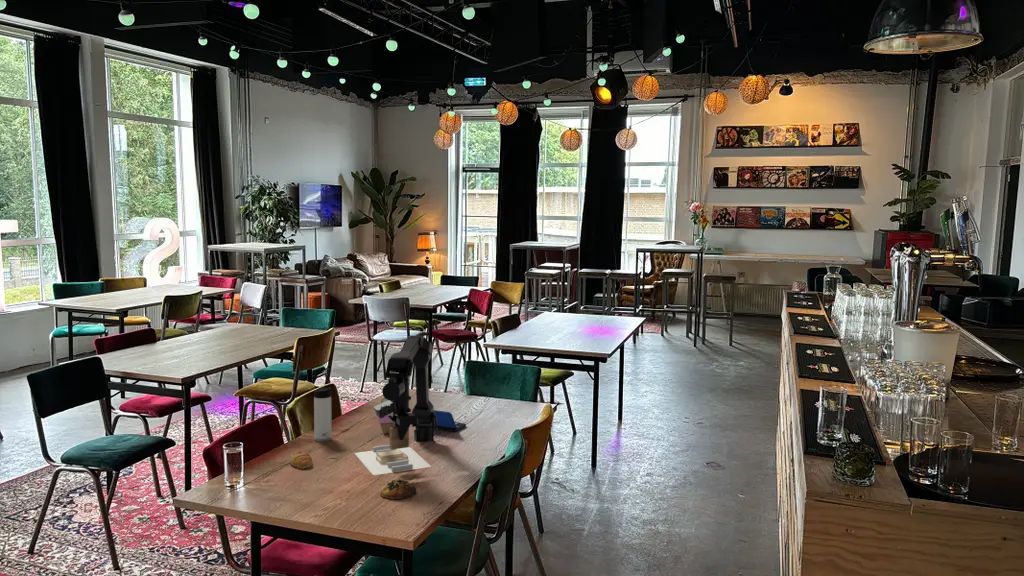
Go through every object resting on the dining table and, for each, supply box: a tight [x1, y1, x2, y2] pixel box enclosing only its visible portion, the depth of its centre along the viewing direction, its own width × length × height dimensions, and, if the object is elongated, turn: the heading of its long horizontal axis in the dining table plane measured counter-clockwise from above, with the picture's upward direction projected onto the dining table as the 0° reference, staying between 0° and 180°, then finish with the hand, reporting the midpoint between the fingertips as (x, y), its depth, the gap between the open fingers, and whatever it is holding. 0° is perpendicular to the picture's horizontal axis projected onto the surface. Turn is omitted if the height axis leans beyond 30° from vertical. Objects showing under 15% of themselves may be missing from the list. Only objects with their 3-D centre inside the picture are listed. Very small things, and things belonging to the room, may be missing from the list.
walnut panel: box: [389, 426, 410, 450], centre depth 234 cm, size 6×2×7 cm, turn 117°
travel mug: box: [313, 387, 333, 443], centre depth 266 cm, size 6×7×20 cm
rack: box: [354, 444, 432, 476], centre depth 243 cm, size 20×24×2 cm
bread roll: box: [379, 478, 417, 500], centre depth 216 cm, size 11×11×5 cm
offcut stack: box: [376, 450, 408, 464], centre depth 243 cm, size 10×5×2 cm, turn 117°
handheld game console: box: [434, 409, 467, 433], centre depth 284 cm, size 16×13×9 cm
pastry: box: [289, 450, 313, 470], centre depth 239 cm, size 9×7×4 cm
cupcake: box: [376, 414, 395, 435], centre depth 276 cm, size 9×9×10 cm
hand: (400, 438), depth 234 cm, fingers closed on walnut panel, 2 cm apart
